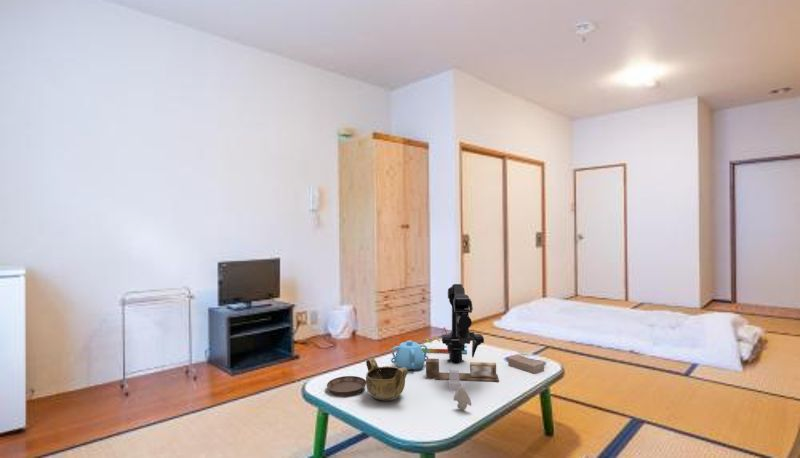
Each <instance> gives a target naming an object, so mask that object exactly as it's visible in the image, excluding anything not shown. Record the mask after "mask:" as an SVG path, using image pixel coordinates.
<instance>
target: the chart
mask: <svg viewBox="0 0 800 458" xmlns="http://www.w3.org/2000/svg"><path fill="white" fill-rule="evenodd" d="M442 330H444V331H445V335H449V334H448V332H447V329H446V327H445V326H443V329H442ZM444 331H442V332H441V336H440V339H439V338H438V337H437V336H434V337H433V338H432V339H431V340H430V339H428V338H426V339H425V340H424V342H423V343H422V344H423V345H425V343H426V341H427V342H428V343H430V344H431V343H433V341H434V340H437V342H439V343H440V342H441V340H442V335H443V333H444ZM464 348H465V350H464V351H462V355H467V354H468V349H466V348H468V345H465V347H464ZM421 349H422V351H423V354H424V353H425V347H423V348H422V347H421ZM427 349H428V350H427V354H446V355H447V354H448V355H449V351H448V349H447V348H427Z"/></svg>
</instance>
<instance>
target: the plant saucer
mask: <svg viewBox="0 0 800 458" xmlns="http://www.w3.org/2000/svg"><path fill="white" fill-rule="evenodd" d="M326 387H327V389H328V390H329V392H330V393H332V394H333V395H334V396H335V395H337V396H341V397H343V396H344V397H345V396H347V397H348V396H353V395H356V394H359V393H360V392H362V390H363V389H364V388H365V387H366V378H363V377H360V376H356V375H345V376H339V377H335V378H333V379H330V380H329V381H328V382H326Z"/></svg>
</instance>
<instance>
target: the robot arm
mask: <svg viewBox="0 0 800 458" xmlns="http://www.w3.org/2000/svg"><path fill="white" fill-rule="evenodd" d="M465 290H466V289H465V288H464V287H463V284H461V283H454V284H452V285H451V286H450V287H449V288H448V289H447V299H448V302H449V303H450V305H451V331H450V333H449V334H448V335H447V334H441V335H442V336H441V342H442V344H445V346H446V349H448V351H449V354H448V355H449V357H448V358H449V359H447V362H449V363H452V364H455V365H456V364H460V363H462V362H463V363H464V362H465V360H464V359H463V354H462V351H464V350H466V348H464V347H465V346H466V345H470V344H471V341H472V344H471V345H472V346H471V357H472V358H474V356H475V353H476V350H477V349H478V347H479V346H480V345H482V344H484V343H485V339H484V338H485V337H484V336H483V335H482V334H481V333H475V332H474V331H472V332H471V331H469V330H470V328H471V326H472V319H471V317H470V315H469V314H471V313H473V312H472V311H473V310H474V309H473V301H472V299H471V298H470V297H469V295H467V294H465V293H466V291H465Z"/></svg>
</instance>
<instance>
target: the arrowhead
mask: <svg viewBox="0 0 800 458" xmlns="http://www.w3.org/2000/svg"><path fill="white" fill-rule="evenodd" d="M453 401H454V402H455V401H457V403H458V404H457V405H456V407H457V408H458V409H459V410H461V411H465V410H466V409H467V406H470V407H471V406H472V401H471V397H470V396H469V394H468V392H467V391H466V389H465V388H464V386H461V385H460V388H459V389H458V390H456V392H455V394H454V395H453Z"/></svg>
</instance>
